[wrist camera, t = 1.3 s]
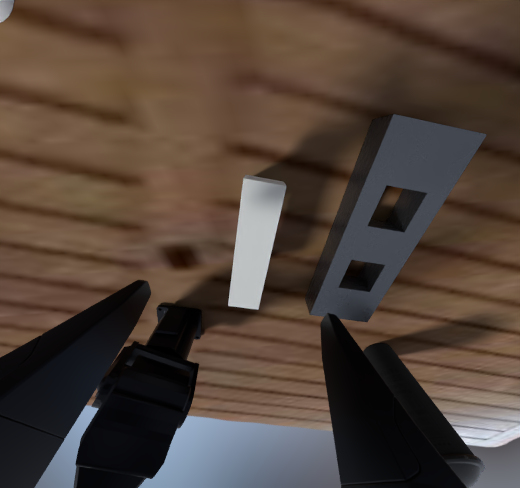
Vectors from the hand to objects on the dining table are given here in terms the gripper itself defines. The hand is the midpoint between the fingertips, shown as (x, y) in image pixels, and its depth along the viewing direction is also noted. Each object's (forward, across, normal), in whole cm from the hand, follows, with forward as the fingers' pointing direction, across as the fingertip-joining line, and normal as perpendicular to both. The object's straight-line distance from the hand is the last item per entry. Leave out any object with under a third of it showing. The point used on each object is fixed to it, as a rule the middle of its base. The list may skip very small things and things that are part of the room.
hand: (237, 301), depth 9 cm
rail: (+14, -13, +2) cm, 19 cm away
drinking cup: (+12, -24, +23) cm, 36 cm away
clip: (+13, 0, +3) cm, 13 cm away
